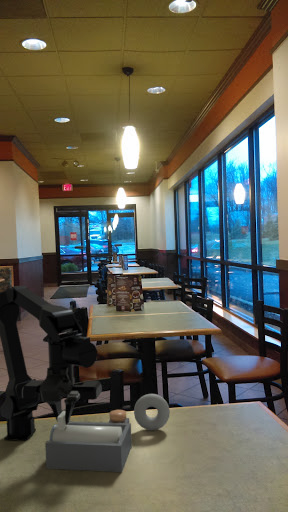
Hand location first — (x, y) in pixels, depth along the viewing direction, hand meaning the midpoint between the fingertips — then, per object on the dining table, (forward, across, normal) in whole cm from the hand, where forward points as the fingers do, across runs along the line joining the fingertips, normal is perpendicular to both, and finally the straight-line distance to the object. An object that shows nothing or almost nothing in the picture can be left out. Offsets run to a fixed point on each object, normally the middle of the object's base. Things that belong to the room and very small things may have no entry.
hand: (63, 424), depth 102 cm
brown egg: (+6, +12, +9) cm, 16 cm away
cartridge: (+7, +6, 0) cm, 9 cm away
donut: (+8, +20, +16) cm, 27 cm away
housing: (+8, +7, +3) cm, 11 cm away
